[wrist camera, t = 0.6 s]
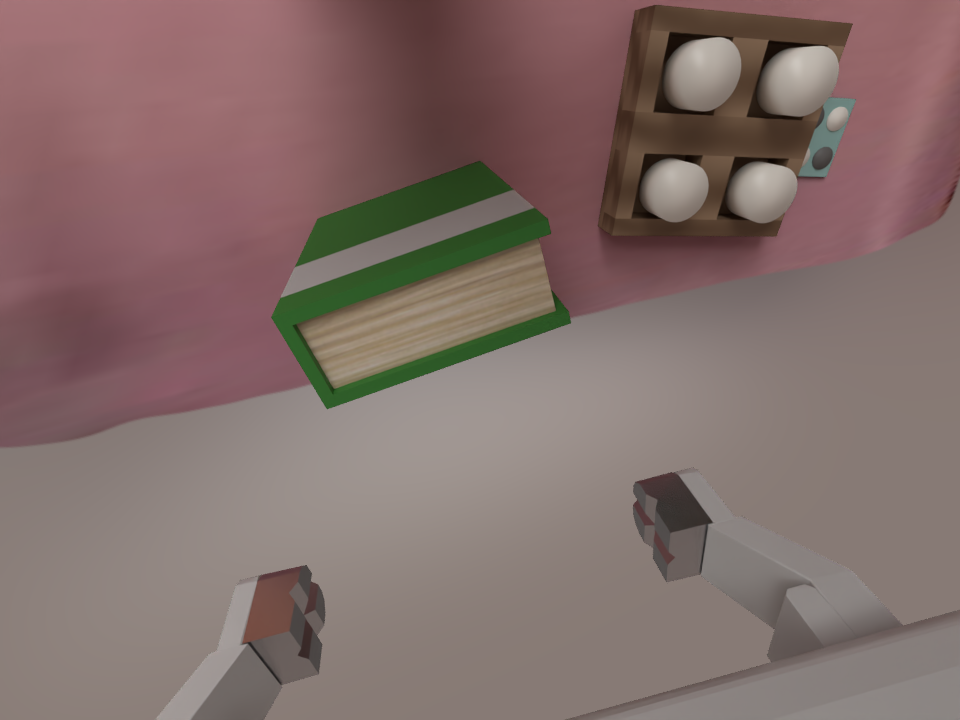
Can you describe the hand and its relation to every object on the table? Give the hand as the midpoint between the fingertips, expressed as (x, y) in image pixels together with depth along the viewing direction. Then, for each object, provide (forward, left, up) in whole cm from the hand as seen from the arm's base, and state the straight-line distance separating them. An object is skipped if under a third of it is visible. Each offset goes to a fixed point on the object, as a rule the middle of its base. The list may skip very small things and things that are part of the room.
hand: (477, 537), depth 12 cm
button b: (-1, +27, -41) cm, 48 cm away
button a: (-11, +27, -41) cm, 50 cm away
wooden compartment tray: (-6, +32, -44) cm, 55 cm away
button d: (-1, +37, -41) cm, 55 cm away
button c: (-11, +37, -41) cm, 56 cm away
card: (-6, +46, -44) cm, 64 cm away
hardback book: (+4, +1, -44) cm, 45 cm away
